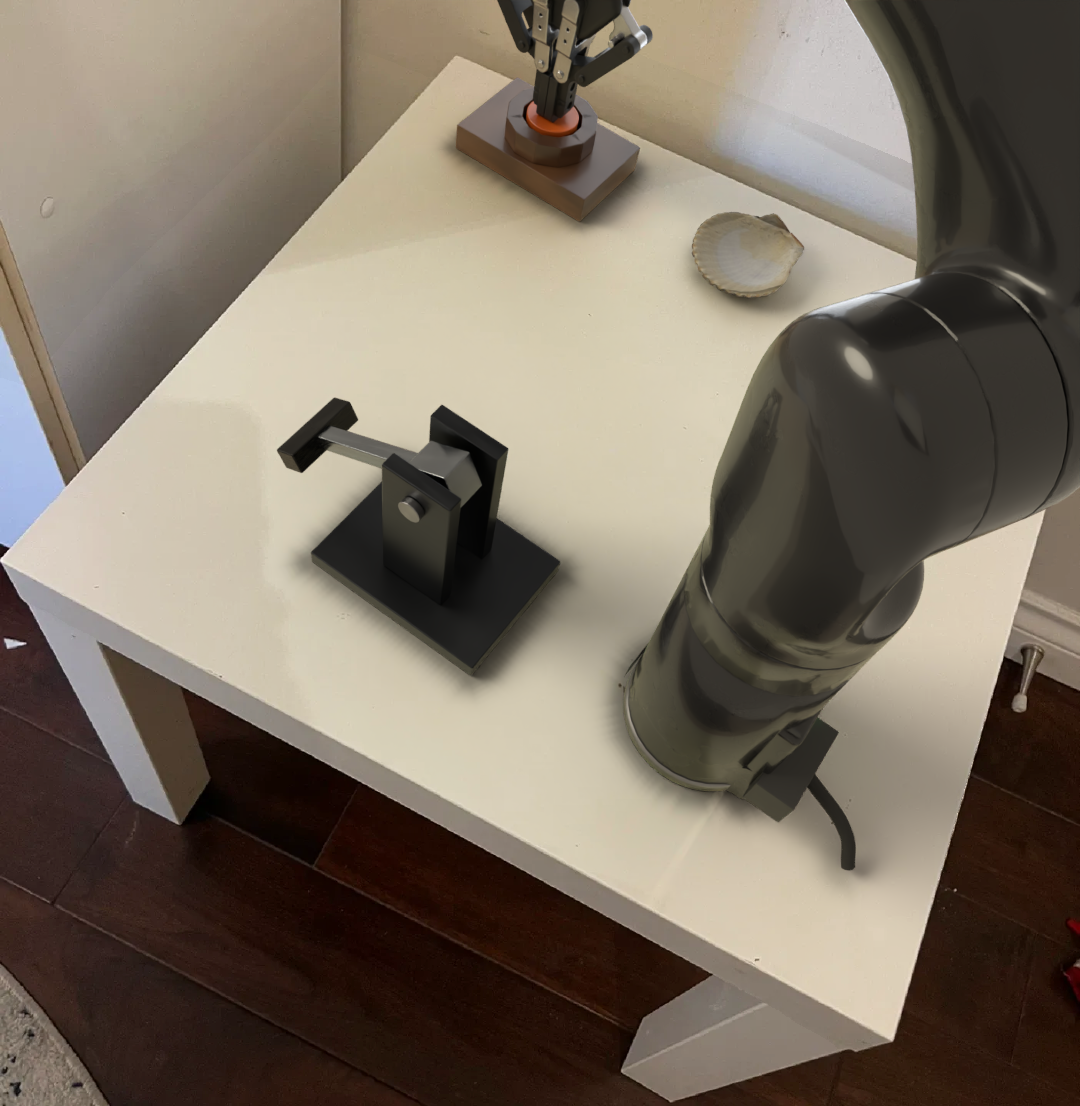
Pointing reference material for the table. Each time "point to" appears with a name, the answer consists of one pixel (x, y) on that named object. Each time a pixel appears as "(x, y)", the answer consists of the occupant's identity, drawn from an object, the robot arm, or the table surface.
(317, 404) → the table surface
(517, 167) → the button base
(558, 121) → the button
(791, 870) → the table surface
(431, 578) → the switch bracket
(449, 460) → the switch lever
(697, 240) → the seashell
